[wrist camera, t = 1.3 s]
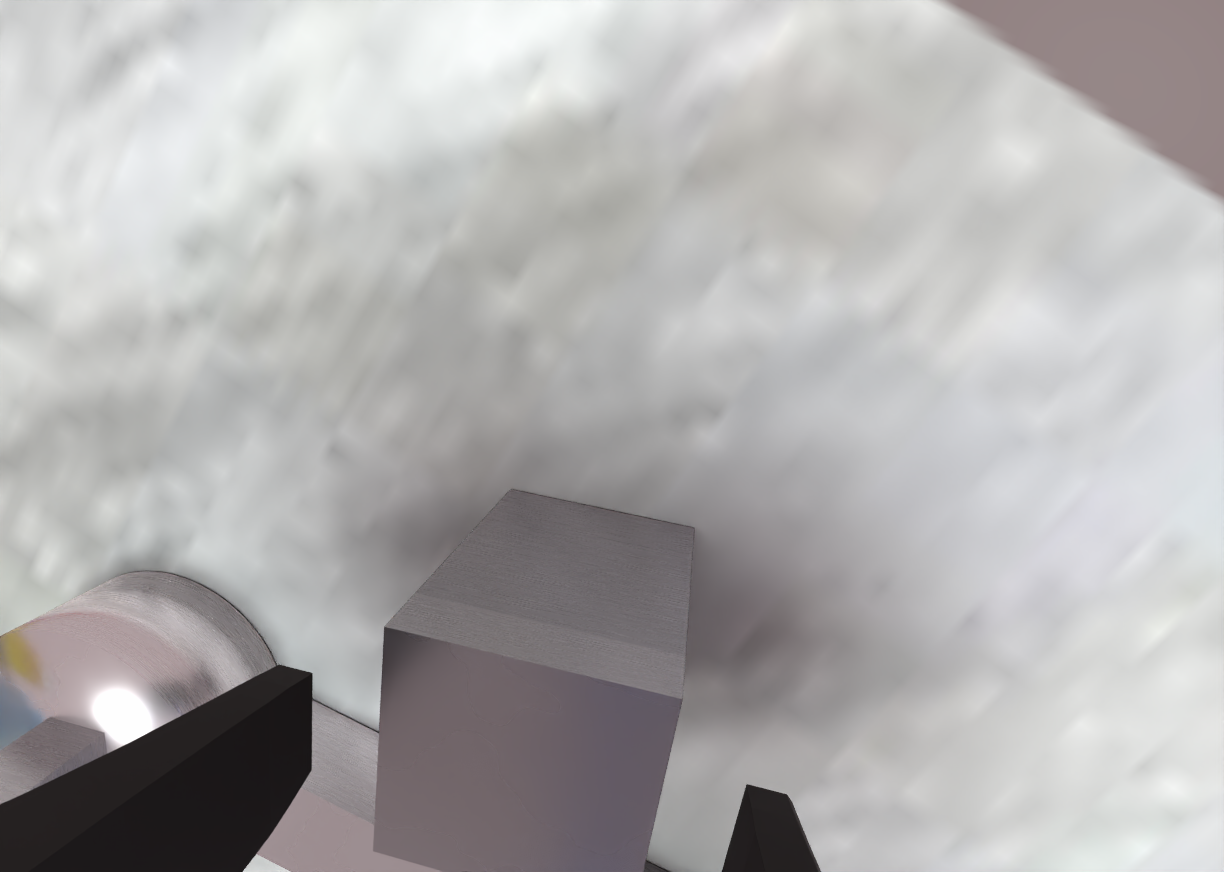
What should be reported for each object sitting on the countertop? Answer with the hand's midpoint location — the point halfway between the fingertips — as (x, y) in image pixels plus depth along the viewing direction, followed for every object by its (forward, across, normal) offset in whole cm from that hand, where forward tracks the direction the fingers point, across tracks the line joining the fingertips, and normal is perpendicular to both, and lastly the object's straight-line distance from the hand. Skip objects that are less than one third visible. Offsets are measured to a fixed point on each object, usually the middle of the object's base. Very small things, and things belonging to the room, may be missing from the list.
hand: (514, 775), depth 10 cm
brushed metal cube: (+6, 0, 0) cm, 6 cm away
